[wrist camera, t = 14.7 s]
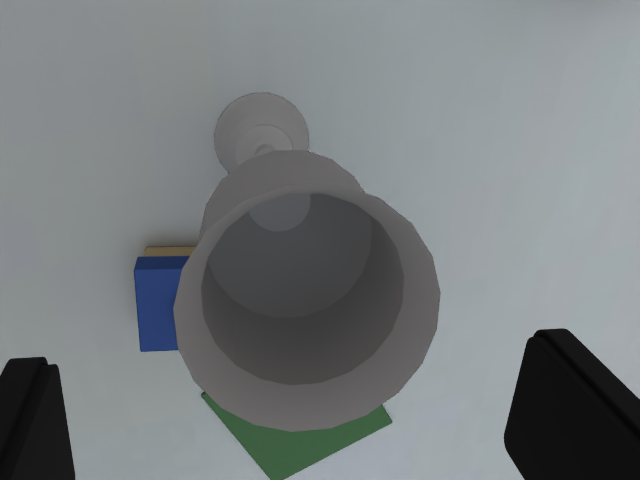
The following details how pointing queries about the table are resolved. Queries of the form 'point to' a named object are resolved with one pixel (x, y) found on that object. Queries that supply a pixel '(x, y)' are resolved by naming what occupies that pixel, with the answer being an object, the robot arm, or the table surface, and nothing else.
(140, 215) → the table surface
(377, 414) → the green cloth
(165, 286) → the brush
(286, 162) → the chalice
